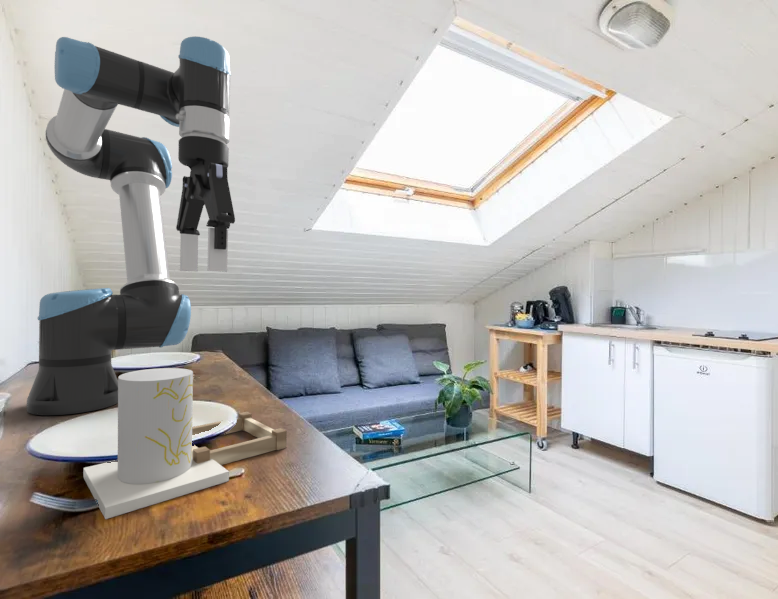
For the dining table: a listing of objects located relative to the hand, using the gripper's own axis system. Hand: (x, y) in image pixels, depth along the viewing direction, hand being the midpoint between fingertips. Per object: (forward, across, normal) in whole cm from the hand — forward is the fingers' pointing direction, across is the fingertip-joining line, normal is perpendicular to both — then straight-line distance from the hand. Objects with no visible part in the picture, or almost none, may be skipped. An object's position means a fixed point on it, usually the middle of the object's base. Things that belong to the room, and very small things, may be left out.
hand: (202, 271), depth 69 cm
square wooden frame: (+27, +10, +1) cm, 28 cm away
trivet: (+26, +15, -10) cm, 32 cm away
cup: (+25, +15, -10) cm, 31 cm away
